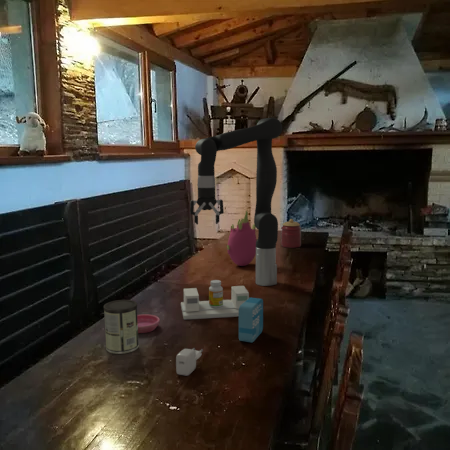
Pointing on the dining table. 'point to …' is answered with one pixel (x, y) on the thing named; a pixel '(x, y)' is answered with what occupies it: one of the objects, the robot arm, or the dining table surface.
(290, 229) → the canister
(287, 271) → the dining table surface
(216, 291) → the supplement bottle
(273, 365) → the dining table surface
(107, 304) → the coffee can
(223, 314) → the rail panel
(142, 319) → the saucer
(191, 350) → the power adapter
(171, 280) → the dining table surface
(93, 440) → the dining table surface
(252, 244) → the pink dragon fruit
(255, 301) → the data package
